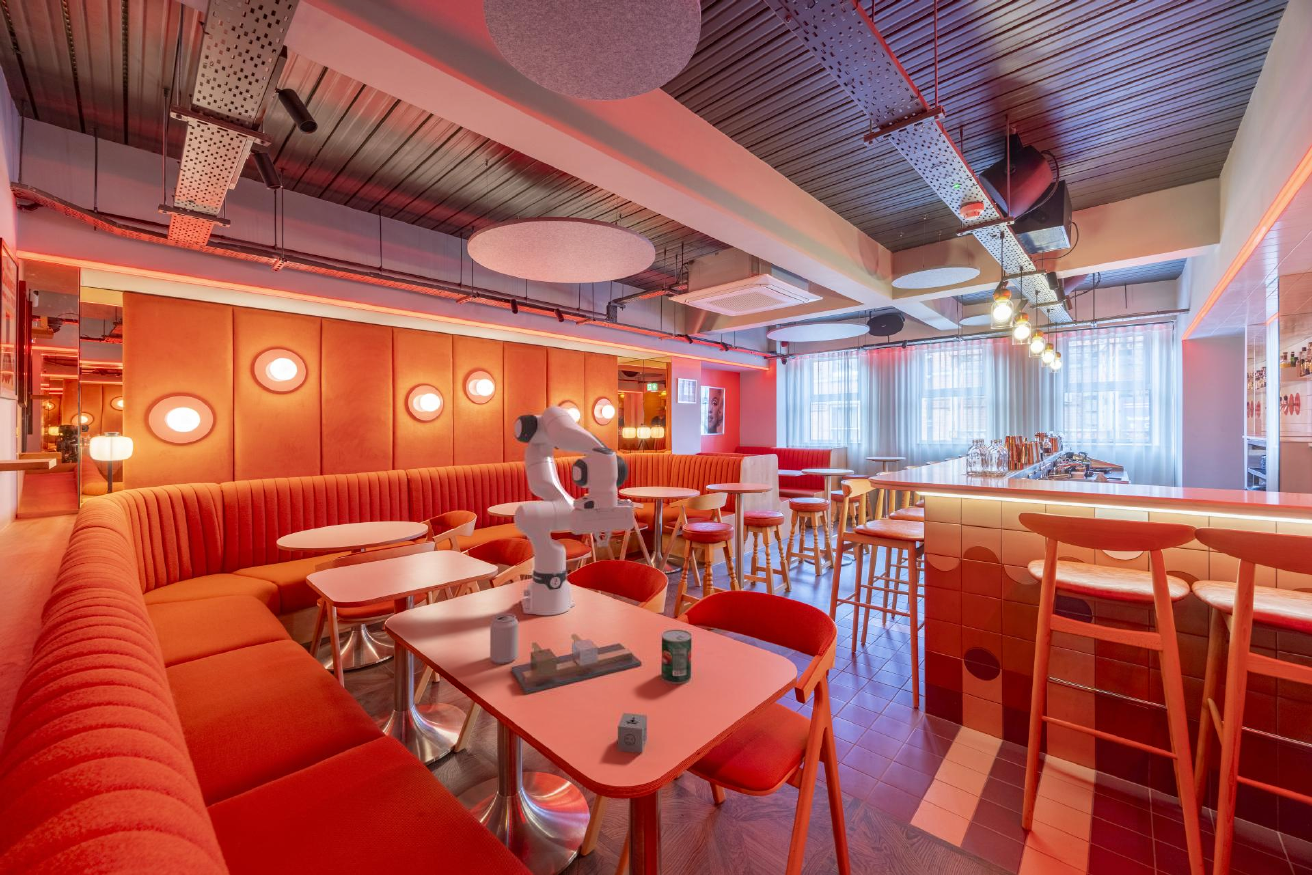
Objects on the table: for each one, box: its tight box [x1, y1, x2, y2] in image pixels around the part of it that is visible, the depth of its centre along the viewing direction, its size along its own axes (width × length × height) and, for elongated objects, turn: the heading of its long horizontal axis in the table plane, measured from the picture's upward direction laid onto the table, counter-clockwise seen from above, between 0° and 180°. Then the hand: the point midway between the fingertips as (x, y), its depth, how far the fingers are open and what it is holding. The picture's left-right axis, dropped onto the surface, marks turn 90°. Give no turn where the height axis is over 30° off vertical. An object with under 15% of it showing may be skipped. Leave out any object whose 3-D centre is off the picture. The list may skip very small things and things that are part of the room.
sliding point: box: [570, 633, 599, 666], centre depth 140 cm, size 12×5×5 cm, turn 30°
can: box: [489, 613, 519, 665], centre depth 143 cm, size 8×8×12 cm
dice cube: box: [617, 712, 648, 754], centre depth 105 cm, size 5×5×5 cm
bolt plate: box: [510, 642, 643, 695], centre depth 138 cm, size 14×32×6 cm, turn 120°
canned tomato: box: [660, 629, 693, 685], centre depth 134 cm, size 8×8×11 cm
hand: (602, 546), depth 156 cm, fingers closed
